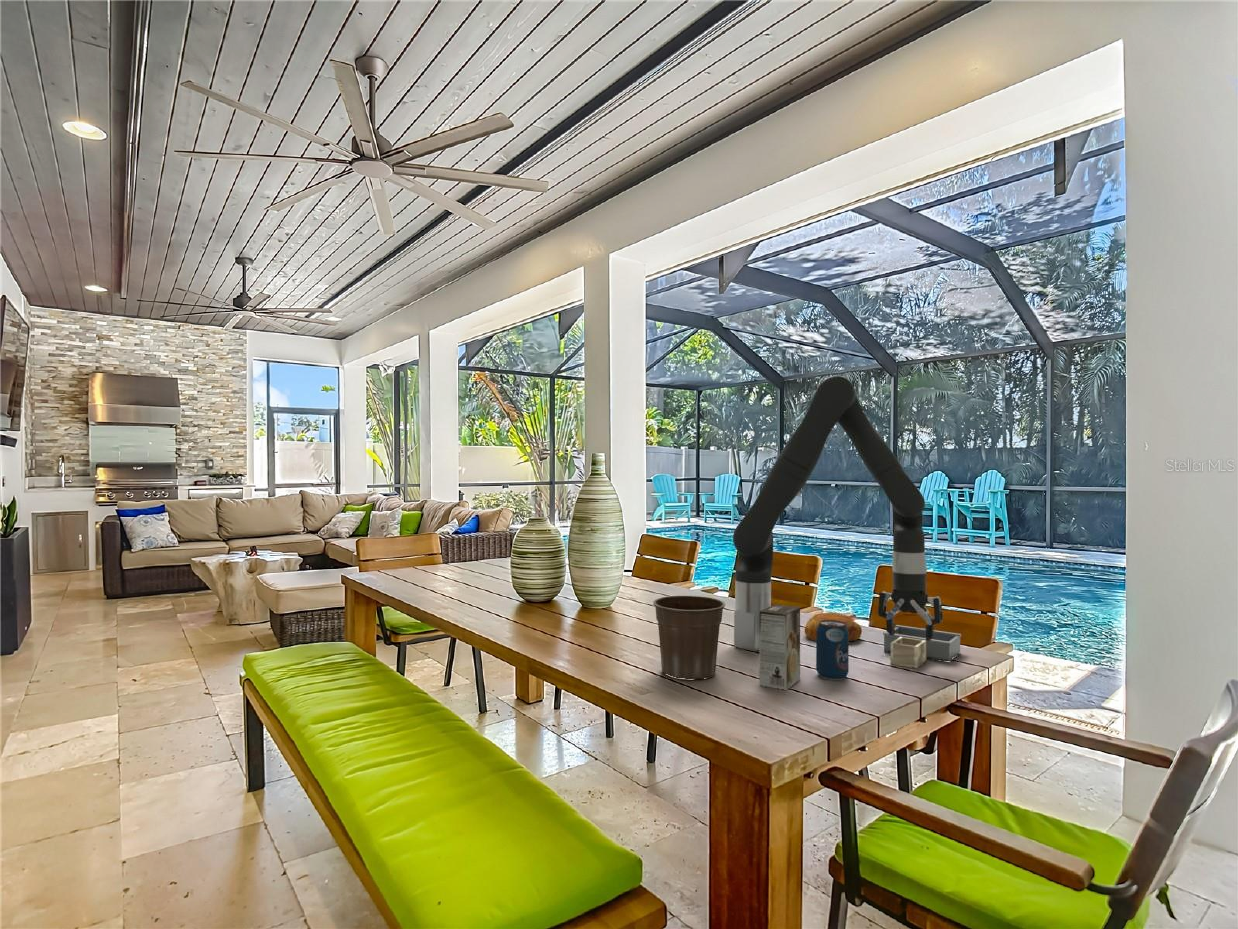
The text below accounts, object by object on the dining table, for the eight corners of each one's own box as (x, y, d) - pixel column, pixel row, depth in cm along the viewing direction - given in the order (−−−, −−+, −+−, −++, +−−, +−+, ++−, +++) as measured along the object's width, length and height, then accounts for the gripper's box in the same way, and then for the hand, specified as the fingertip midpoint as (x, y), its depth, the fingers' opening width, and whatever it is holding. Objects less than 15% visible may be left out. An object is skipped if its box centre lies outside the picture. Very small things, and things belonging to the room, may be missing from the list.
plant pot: (716, 688, 142) (716, 611, 143) (643, 679, 148) (644, 605, 148) (730, 667, 158) (731, 598, 158) (664, 660, 163) (664, 593, 163)
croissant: (866, 652, 181) (870, 623, 181) (808, 643, 181) (813, 614, 181) (849, 637, 195) (853, 610, 195) (795, 629, 196) (800, 602, 195)
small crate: (916, 668, 158) (917, 647, 158) (890, 663, 162) (890, 642, 162) (926, 661, 164) (926, 640, 164) (900, 656, 168) (900, 636, 168)
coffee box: (772, 675, 152) (773, 603, 152) (800, 680, 149) (801, 607, 149) (758, 685, 144) (758, 610, 144) (787, 691, 141) (788, 614, 141)
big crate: (950, 663, 163) (950, 642, 163) (883, 651, 173) (883, 632, 173) (961, 653, 172) (961, 634, 172) (896, 643, 182) (896, 625, 182)
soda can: (845, 683, 147) (845, 627, 147) (812, 678, 150) (813, 624, 150) (851, 674, 153) (851, 621, 153) (820, 670, 156) (820, 618, 156)
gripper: (874, 569, 165) (875, 636, 164) (936, 574, 156) (937, 645, 156) (883, 566, 171) (884, 630, 170) (944, 571, 162) (945, 639, 161)
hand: (910, 637), depth 163 cm, fingers open, 8 cm apart
